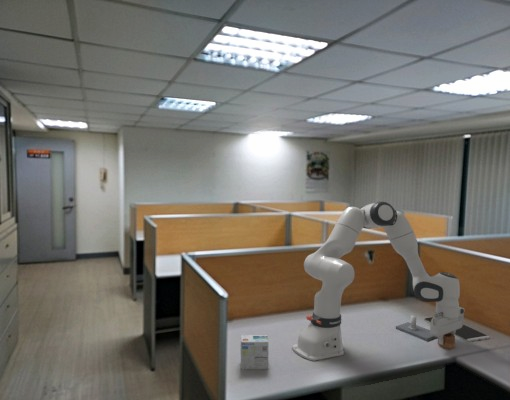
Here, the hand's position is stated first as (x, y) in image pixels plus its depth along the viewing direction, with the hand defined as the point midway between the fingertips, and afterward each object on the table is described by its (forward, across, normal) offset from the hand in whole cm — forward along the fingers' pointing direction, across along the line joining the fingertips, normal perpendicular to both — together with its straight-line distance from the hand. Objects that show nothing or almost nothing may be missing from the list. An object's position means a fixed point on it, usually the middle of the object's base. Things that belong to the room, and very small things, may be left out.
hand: (446, 341), depth 154 cm
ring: (+2, 0, 0) cm, 2 cm away
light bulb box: (+2, -80, +30) cm, 85 cm away
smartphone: (+2, +22, +8) cm, 24 cm away
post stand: (+2, +2, +15) cm, 15 cm away
